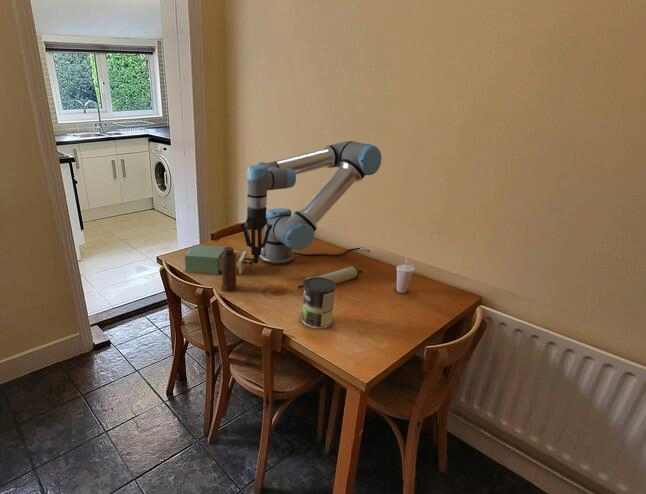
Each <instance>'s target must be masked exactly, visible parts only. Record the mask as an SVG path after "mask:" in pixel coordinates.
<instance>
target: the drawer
mask: <svg viewBox="0 0 646 494" xmlns="http://www.w3.org/2000/svg"><path fill="white" fill-rule="evenodd" d="M233 251H234V252H235V253H236V272H237V271H238V274H239V275H240V274H241V275H242V273H243V271H244V270H245V267H246V266H247V265H250V266H252V265H253V264H254V257H248V251H247V250H243V252H242V251H237V250H236V251H235V250H233ZM223 252H224V251H223ZM218 264H219V271H220V272H222V254H221V256H220V257H219V259H218Z"/></svg>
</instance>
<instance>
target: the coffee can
mask: <svg viewBox="0 0 646 494" xmlns="http://www.w3.org/2000/svg"><path fill="white" fill-rule="evenodd" d="M312 277H313V278H310V277H308V278H309V279H307V280H305V279H304V280H305V281H304V280H303V281H304V287H303V295H302V310H301V322H302V324H303V325H305V326H307V327H309V328H312V329H320V330H321V329H326V328H328V327H330V326H331V325H332V323H333V311H334V301H335V291H336V287H337V286H336V285H337V283H336V284H335V283H334V282H333V281H332V280H330V279H327V278H322V277H317V276H312Z"/></svg>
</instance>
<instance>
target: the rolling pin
mask: <svg viewBox="0 0 646 494" xmlns="http://www.w3.org/2000/svg"><path fill="white" fill-rule="evenodd" d="M362 273H363V269H358V267H357V266H348V267H345V268H342V269H339V270H336V271H332V272H328V273H325V274H321V275H318V276H316V277H322V278H327V279H330V280H332V281H333V282H334V283H335V284H336V285H337V284H339V283H343V282H346V281H349V280H353V279H358V278H359V277H360V274H362ZM313 277H314V276H311V277H304V279H303V280H302V284H299V285H297V289H304V281H305V280H307V279H309V278H313Z"/></svg>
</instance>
